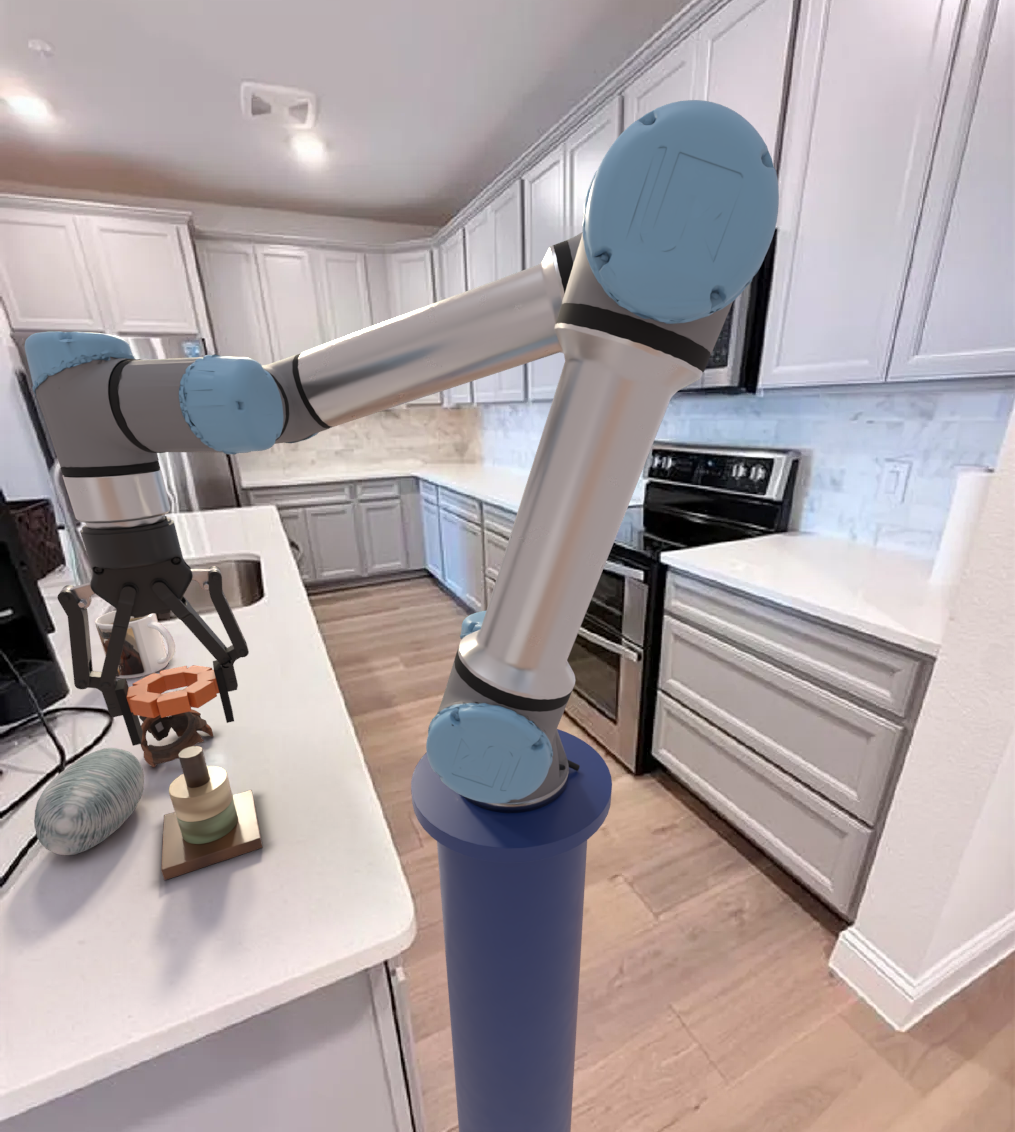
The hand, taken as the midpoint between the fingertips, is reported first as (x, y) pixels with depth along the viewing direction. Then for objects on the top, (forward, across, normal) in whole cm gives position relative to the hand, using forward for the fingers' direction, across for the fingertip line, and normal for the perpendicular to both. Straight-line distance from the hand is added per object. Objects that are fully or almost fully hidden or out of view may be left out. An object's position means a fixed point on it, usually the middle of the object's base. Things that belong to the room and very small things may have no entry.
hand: (185, 727), depth 61 cm
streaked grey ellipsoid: (+15, +12, -9) cm, 22 cm away
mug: (+15, +10, -58) cm, 61 cm away
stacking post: (+15, 0, 0) cm, 15 cm away
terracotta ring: (-4, 0, 0) cm, 4 cm away
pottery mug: (+15, +4, -23) cm, 28 cm away
